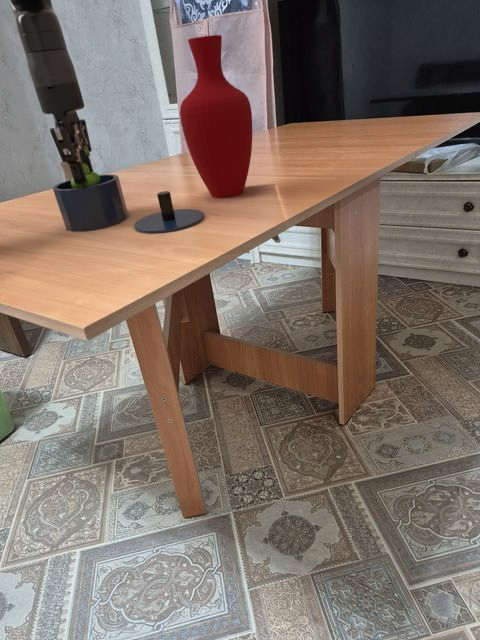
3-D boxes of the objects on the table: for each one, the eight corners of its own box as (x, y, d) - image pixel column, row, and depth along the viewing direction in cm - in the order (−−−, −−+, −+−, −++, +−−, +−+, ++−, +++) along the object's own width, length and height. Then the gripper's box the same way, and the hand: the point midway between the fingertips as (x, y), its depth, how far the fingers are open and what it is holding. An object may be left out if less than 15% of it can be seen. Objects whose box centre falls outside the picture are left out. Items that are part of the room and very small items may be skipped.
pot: (58, 237, 91) (43, 193, 87) (77, 219, 102) (64, 179, 98) (121, 229, 91) (109, 185, 87) (133, 212, 102) (123, 171, 97)
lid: (128, 240, 85) (119, 206, 82) (141, 219, 96) (134, 188, 93) (202, 231, 85) (196, 197, 81) (207, 211, 96) (201, 180, 93)
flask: (91, 199, 118) (79, 157, 113) (95, 204, 112) (82, 160, 107) (62, 205, 116) (48, 162, 110) (64, 211, 110) (50, 166, 105)
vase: (209, 189, 113) (185, 41, 97) (268, 186, 108) (252, 31, 93) (184, 207, 101) (152, 42, 85) (249, 204, 97) (227, 30, 81)
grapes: (71, 192, 91) (61, 159, 88) (79, 186, 95) (69, 154, 92) (97, 189, 91) (87, 155, 87) (103, 183, 95) (94, 151, 92)
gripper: (48, 83, 89) (77, 175, 98) (19, 86, 77) (54, 191, 86) (87, 78, 89) (112, 171, 98) (63, 80, 77) (94, 186, 86)
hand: (85, 180), depth 92 cm, fingers closed on grapes, 5 cm apart
